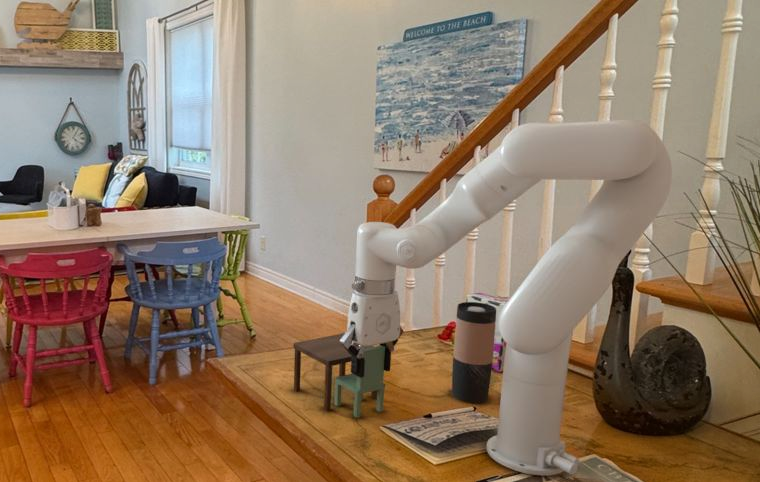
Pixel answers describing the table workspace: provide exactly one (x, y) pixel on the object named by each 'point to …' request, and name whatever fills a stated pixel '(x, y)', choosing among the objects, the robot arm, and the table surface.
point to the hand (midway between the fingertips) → (370, 371)
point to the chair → (364, 380)
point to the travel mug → (473, 351)
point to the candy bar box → (498, 340)
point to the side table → (324, 360)
